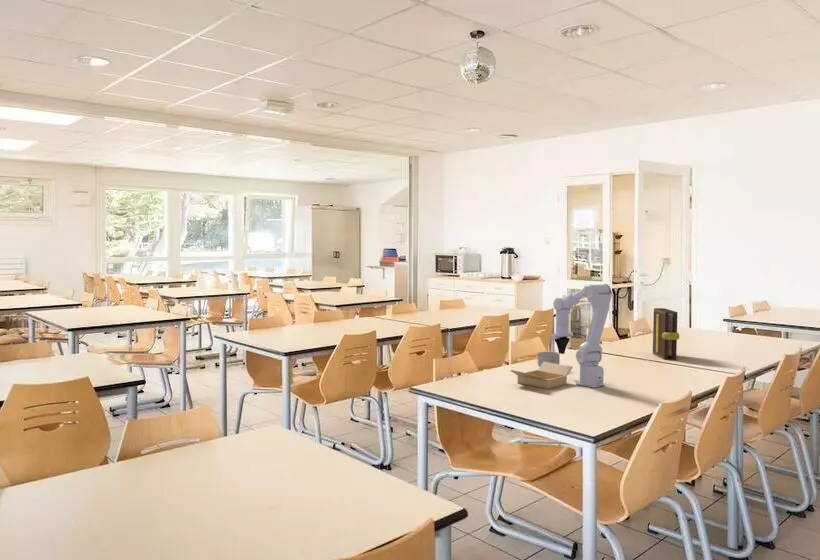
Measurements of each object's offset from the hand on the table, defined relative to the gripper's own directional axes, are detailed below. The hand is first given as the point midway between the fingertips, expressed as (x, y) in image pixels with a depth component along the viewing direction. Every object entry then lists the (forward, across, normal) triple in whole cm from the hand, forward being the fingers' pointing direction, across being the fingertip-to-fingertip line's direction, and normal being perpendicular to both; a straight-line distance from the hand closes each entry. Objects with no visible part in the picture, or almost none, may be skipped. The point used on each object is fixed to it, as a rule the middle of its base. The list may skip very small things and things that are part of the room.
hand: (561, 353), depth 288 cm
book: (+11, -82, +8) cm, 83 cm away
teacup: (+11, -10, -14) cm, 20 cm away
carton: (+10, +20, +4) cm, 23 cm away
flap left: (+5, +29, +4) cm, 30 cm away
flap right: (+5, +11, +4) cm, 13 cm away
